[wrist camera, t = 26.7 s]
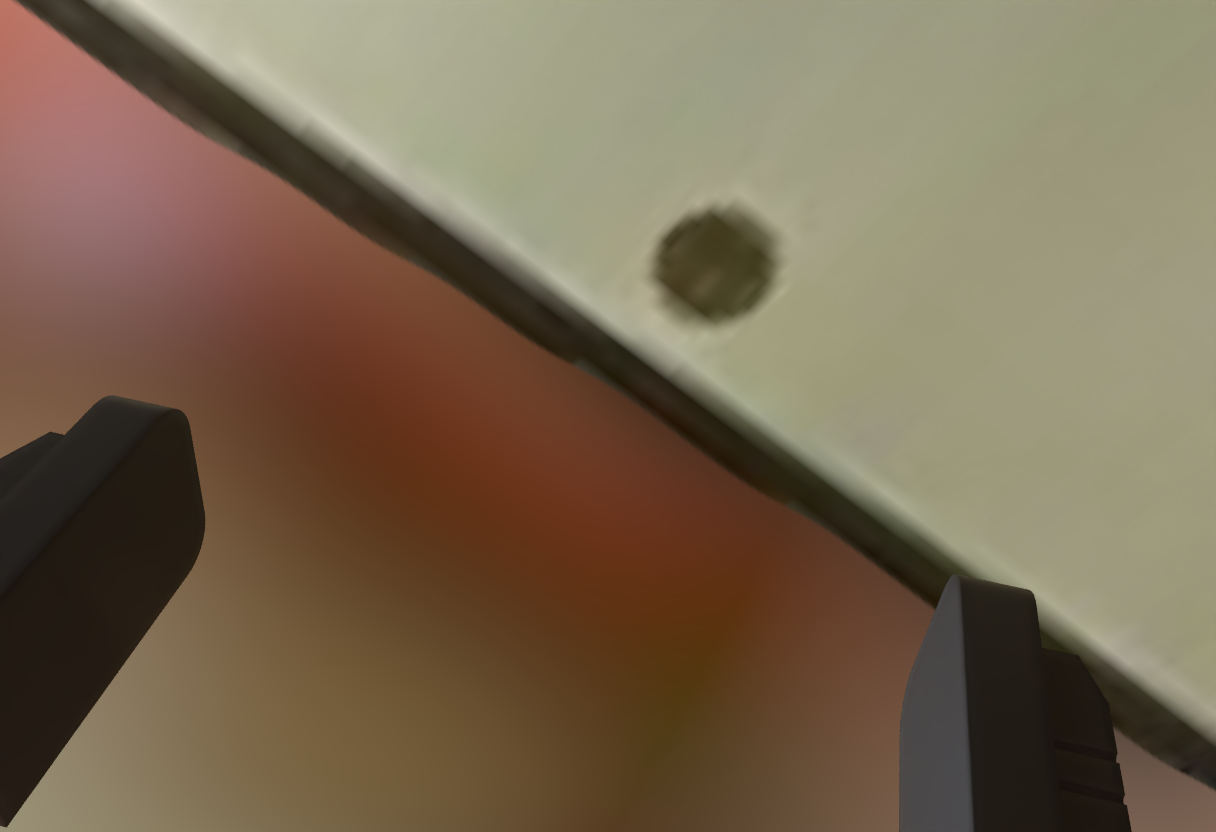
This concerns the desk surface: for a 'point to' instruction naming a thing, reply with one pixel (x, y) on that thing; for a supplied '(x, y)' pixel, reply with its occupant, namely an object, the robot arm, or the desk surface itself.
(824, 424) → the desk surface
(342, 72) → the desk surface
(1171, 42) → the desk surface
